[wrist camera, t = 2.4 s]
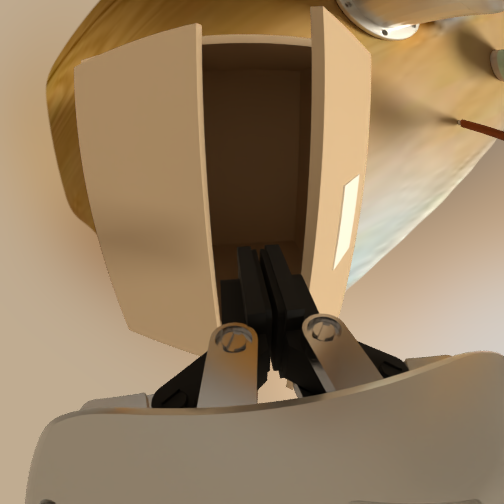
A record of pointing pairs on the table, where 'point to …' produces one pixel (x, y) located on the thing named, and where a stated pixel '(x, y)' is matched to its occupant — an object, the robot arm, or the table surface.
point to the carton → (256, 145)
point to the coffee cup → (498, 63)
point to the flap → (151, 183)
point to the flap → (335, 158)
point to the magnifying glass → (482, 129)
